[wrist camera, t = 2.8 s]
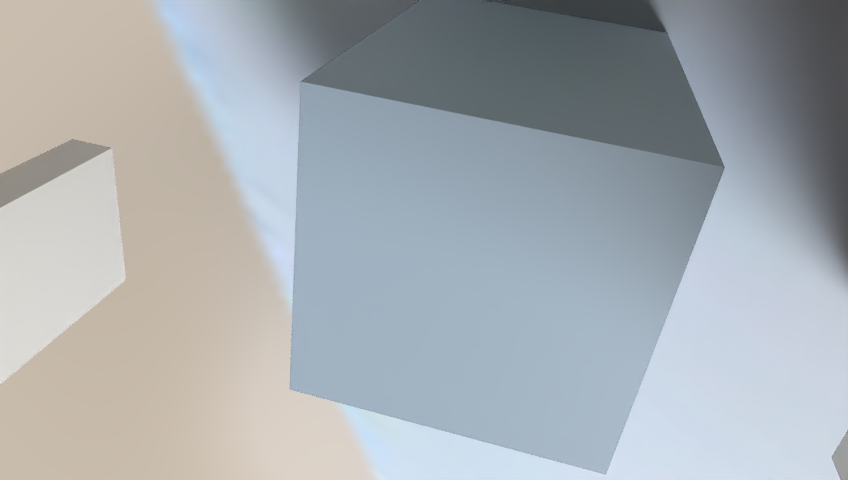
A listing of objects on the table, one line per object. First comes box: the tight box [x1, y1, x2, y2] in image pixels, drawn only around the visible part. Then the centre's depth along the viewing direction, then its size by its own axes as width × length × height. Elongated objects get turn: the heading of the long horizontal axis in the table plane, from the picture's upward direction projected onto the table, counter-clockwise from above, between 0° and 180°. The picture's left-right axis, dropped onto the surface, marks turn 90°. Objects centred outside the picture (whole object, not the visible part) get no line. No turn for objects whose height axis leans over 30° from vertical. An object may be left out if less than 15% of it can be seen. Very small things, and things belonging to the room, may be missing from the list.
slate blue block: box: [290, 0, 725, 474], centre depth 15 cm, size 6×6×9 cm
